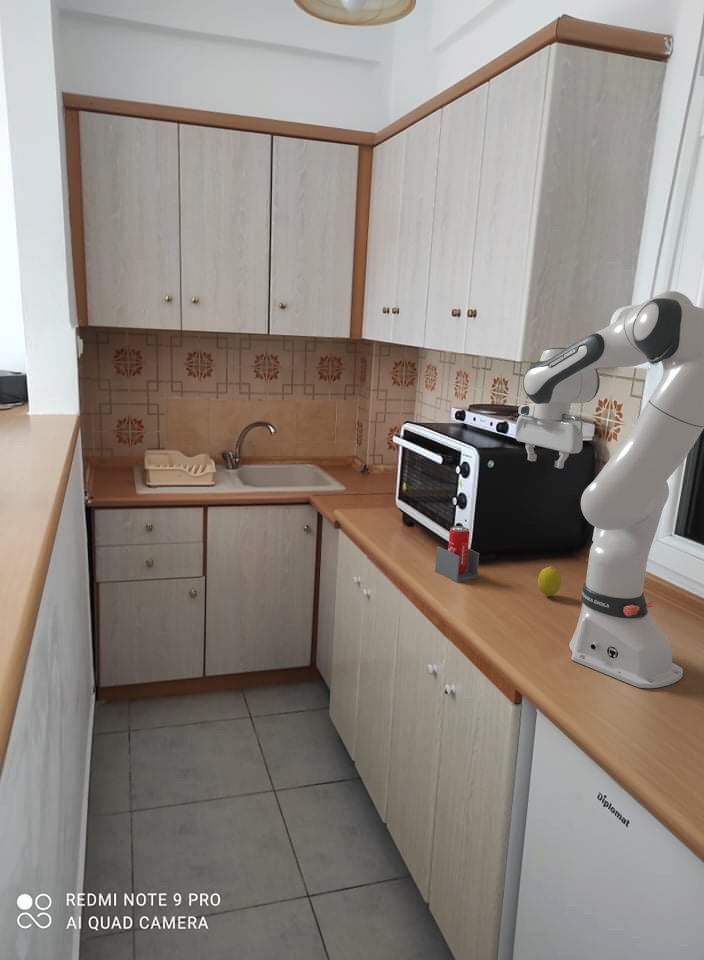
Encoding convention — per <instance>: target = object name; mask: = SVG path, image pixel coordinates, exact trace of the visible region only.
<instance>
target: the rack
mask: <svg viewBox="0 0 704 960" xmlns="http://www.w3.org/2000/svg"><path fill="white" fill-rule="evenodd" d="M479 558H480V552H477V551H475V550H473V549H471V548H468V556H467V567H466V570H465V572H464V573H463V574H459V563H460V556H458V555H456V554H454V553H451V552H449V551H448V550H447V549H444V548H443V547H441V546H436V555H435V569H434V572H436V573H438V574H439V575H442V576H444V577H446V578H448V579H450V580H452V581H454V582H455V583H458V582H464V581H470V580H475V578H476V579H478V569H479V560H480V559H479Z"/></svg>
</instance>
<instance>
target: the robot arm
mask: <svg viewBox="0 0 704 960" xmlns="http://www.w3.org/2000/svg"><path fill="white" fill-rule="evenodd" d="M648 362H649V363H650V365H651V364H652V365H654V364H658V363H661V364H662V369H663V370H662V376H661V379H660V380H659V383H658V385H657V386H656V387H655V389H654V390H653V392H652V394H651V396H650V397H649V399H648V400H647V402H646V404H645V406H644V407H643V409H642V411H641V413H640V415H639V416H638V418H637V420H636V421H635V423H634V425H633V427H632V428H631V430H630V432H629V433H628V435H627V436H626V438H625V439H624V440H623V442H622V443H621V444H620V446H619V447H618V448H616V451H614V452H613V454H612V455H611V457H610V458H609V460H607V462H606V463H605V464H604V466H603V467H602V469H601V471H600V472H599V473H598V474H597V476H596V477H595V478H594V480H593V481H592V482H590V484H589V485H587V487H586V488H585V489H584V490H583V492H582V495H581V498H580V508H581V512H582V516H584V519H586V521H587V522H588V523H589V524H590V525H592V526H593V527H594V528H597V529H598V531H597V535H596V536H595V539H594V541H593V543H592V544H591V546H590V548H589V554H588V555H589V556H588V562H587V569H586V570H587V571H586V578H585V582H584V583H583V584H582V591H581V599H580V600H581V603H582V604H581V609H580V613H579V618H578V621H577V625H576V628H575V631H574V633H573V635H572V638H571V640H570V642H569V644H568V645H569V649H570V651H571V653H572V654H571V660H572V661H574V662H576V663H578V664H581V665H583V666H586V667H587V668H591V670H592V669H593V670H595V671H598V672H600V673H601V674H605V675H607V676H610V677H612V678H614V679H616V680H619V681H622V682H623V683H627V684H629V685H631V686H634V687H637V688H640V689H657V688H663V687H666V686H669V685H672V684H675V683H676V682H679V681H680V680H681V679H682V678H683V676H684V669H683V668H682V667H681V666H679V665H678V664H676V663H674V661H673V647H672V643H671V642H670V640H669V638H667V636H666V635H665V633H663V631H662V630H661V629H660V628H659V627H658V625H657V623H656V622H655V621H654V620H653V619H652V618H651V617H650V615H649V614H648V613H649V611H648V609H650V608H652V607H654V605H653V604H654V601H649V602H648V601H647V602H646V596H645V594H644V591H643V590H644V584H645V583H644V582H645V577H646V571H647V563H648V560H649V555H650V551H651V548H652V544H653V543H654V540H655V536H656V533H657V530H658V527H659V524H660V520H661V517H662V514H663V510H664V507H665V506H666V504H667V501H668V499H669V496H670V488H669V484H668V480H669V478H670V477H671V476H672V475H673V474H674V472H676V470H677V469H678V468H679V467H680V466H681V465H682V464H683V463H684V462H685V459H686V458H687V456H688V455H689V453H690V451H691V450H692V449H693V447H694V445H695V444H696V442H697V440H698V439H699V437H700V436H701V433H702V432H703V431H704V308H702V307H699V306H696V305H694V303H693V302H692V300H691V299H690V298H689V297H688V296H686V294H684V293H681V292H679V291H675V290H670V291H669V290H668V291H665V292H664V291H663V292H662V293H659V294H658V295H655V296H653V297H651V298H649V299H647V300H646V301H644V302H642V303H640V304H639V305H638V306H636V307H635V308H634V309H632V310H631V311H629V312H628V313H627V314H626V315H624V316H622V317H621V318H619V319H618V320H616V321H614V322H613V323H611V324H610V325H608V326H606V327H604V328H602V329H600V330H598V331H597V332H595V333H591V334H590V335H588V336H586V337H584V338H582V339H580V340H578V341H577V342H575V343H573V344H571V345H570V346H568V347H552V348H547V349H545V350H544V351H543V352H542V353H541V357H540V359H539V361H536V362H534V363H533V364H531V366H530V367H529V368H528V369H527V370H526V372H525V375H524V377H523V379H522V380H523V382H522V387H523V390H524V392H525V395H526V396H527V397H528V398H529V400H531V401H532V402H533V403H529V404H525V405H520V406H519V407H518V415H519V416H518V417H517V420H516V424H515V425H516V426H515V434H514V437H515V438H516V439H515V440H516V441H517V442H521V443H525V449H526V453H527V461H530V462H536V461H537V457H538V455H537V454H536V453H535V450H534V448H536V447H535V446H537V447H541V448H545V449H550V450H554V451H558V455H559V458H558V459H557V460H554V468H557V469H559V470H560V469H564V468H565V467H564V466H565V462H566V460H567V459H568V457H569V456H570V454H579V453H580V452H581V451H582V450H583V445H584V444H583V443H584V442H583V441H584V439H583V437H584V435H583V433H584V432H583V427H584V425H583V421H582V420H581V419H580V417H579V416H577V415H572V414H569V413H570V408H571V407H570V405H571V404H586V403H589V402H591V401H592V400H593V399H595V397H596V396H597V394H598V393H599V389H600V385H601V380H600V375H599V373H598V371H597V369H599V368H600V369H601V368H633V367H637V366H640V365H643V364H646V363H648Z"/></svg>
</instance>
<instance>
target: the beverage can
mask: <svg viewBox="0 0 704 960" xmlns="http://www.w3.org/2000/svg"><path fill="white" fill-rule="evenodd" d="M469 530H470V529H469V528H468V527H465V526H461V525H453V526H451V527H450V529H449V537H448V548H447V549H448V550H447V551H449V552H451V553H454V554H456V555H458V556H460V563H459V574H463V573H464V572H465V570H466V567H467V556H468V549H469V545H470V543H469V542H470V531H469Z"/></svg>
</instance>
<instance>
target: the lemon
mask: <svg viewBox="0 0 704 960" xmlns="http://www.w3.org/2000/svg"><path fill="white" fill-rule="evenodd" d="M561 579H562V578H561V574H560V572H559V570H557V568H555V567H553V566H552V565H550V566H548V567H547V566H546V567H545V568H543V569H542V570H541V571H540V572H539V575H538V578H537V586H538V589H539V591H540V592H541V593H543V594H544V595H545V596H546V597H550V596H552V595H555V594H557V593H558V592H559V590H560V588H561V583H562V580H561Z"/></svg>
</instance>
